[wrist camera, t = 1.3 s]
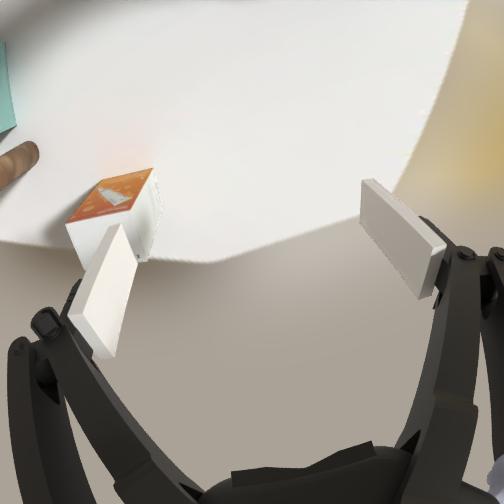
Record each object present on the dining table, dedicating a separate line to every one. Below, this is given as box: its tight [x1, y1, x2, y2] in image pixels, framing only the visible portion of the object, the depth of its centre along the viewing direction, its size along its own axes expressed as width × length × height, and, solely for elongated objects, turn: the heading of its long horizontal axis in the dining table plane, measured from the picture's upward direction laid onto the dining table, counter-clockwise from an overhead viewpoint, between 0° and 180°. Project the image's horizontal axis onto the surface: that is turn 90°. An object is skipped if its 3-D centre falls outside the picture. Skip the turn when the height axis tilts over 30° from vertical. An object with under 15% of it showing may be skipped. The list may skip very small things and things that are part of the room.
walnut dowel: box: [0, 141, 39, 191], centre depth 26 cm, size 4×4×14 cm
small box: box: [65, 168, 163, 271], centre depth 33 cm, size 8×6×13 cm
